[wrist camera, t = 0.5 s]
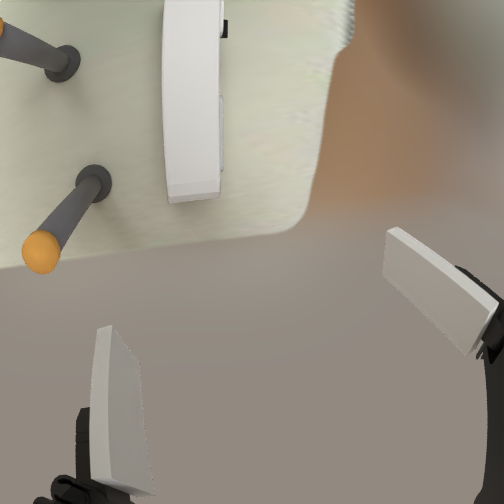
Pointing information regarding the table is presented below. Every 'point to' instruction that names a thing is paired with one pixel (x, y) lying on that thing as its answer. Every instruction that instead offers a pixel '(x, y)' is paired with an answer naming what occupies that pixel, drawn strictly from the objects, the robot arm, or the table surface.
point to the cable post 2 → (65, 220)
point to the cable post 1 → (38, 53)
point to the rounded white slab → (192, 98)
